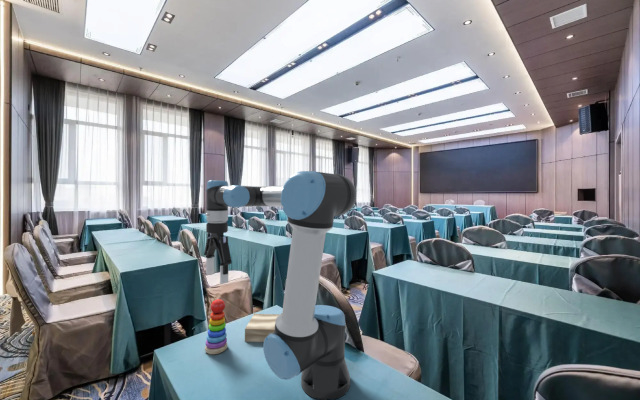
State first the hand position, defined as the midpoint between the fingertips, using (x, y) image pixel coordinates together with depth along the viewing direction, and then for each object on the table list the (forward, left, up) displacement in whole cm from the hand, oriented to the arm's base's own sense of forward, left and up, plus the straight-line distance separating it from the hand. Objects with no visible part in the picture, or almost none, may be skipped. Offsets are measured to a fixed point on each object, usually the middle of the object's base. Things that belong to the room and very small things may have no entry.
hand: (216, 278), depth 103 cm
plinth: (+13, -16, -27) cm, 34 cm away
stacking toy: (0, 0, -27) cm, 27 cm away
